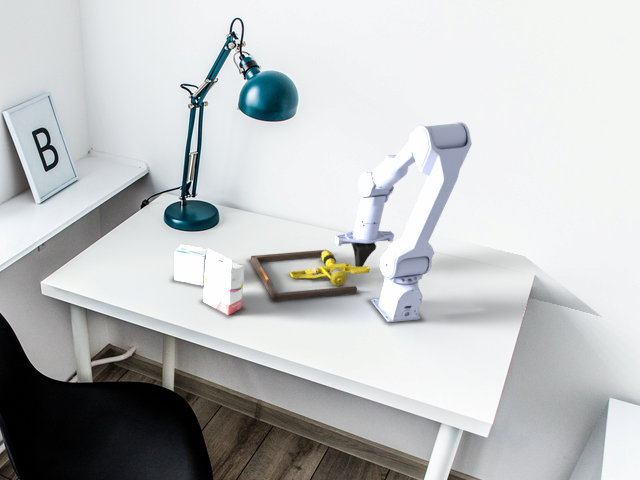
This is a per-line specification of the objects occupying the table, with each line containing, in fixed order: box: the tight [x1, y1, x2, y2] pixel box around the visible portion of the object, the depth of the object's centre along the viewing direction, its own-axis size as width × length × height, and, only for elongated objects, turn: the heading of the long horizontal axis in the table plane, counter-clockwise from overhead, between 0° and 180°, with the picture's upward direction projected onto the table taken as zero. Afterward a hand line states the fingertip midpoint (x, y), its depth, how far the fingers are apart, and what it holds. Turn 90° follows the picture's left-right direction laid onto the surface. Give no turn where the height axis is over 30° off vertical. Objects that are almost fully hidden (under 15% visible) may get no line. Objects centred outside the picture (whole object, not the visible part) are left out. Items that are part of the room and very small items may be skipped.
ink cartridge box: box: [203, 248, 245, 316], centre depth 154 cm, size 9×5×15 cm, turn 40°
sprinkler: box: [289, 249, 371, 287], centre depth 169 cm, size 19×4×15 cm
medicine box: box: [174, 243, 209, 287], centre depth 166 cm, size 8×4×9 cm, turn 65°
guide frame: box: [250, 249, 358, 302], centre depth 168 cm, size 20×21×2 cm
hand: (358, 266), depth 169 cm, fingers closed
